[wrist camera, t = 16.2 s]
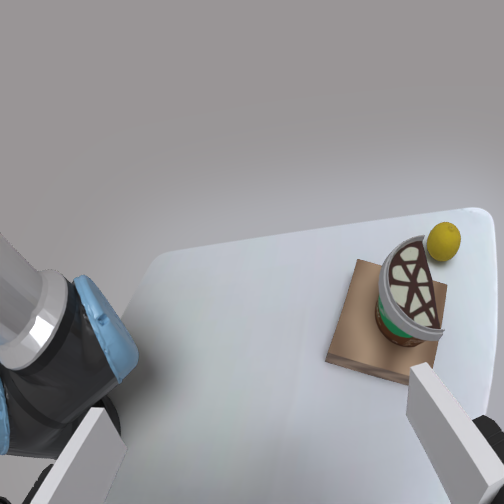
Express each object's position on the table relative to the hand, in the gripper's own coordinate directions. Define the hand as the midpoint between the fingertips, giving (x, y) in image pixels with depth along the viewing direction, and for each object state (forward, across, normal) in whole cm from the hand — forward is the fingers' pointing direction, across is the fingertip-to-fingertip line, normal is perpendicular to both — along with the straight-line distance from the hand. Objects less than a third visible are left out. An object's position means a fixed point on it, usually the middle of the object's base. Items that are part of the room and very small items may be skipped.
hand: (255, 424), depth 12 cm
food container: (+27, +15, -10) cm, 32 cm away
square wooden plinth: (+30, +16, -15) cm, 37 cm away
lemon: (+37, +29, -8) cm, 48 cm away
